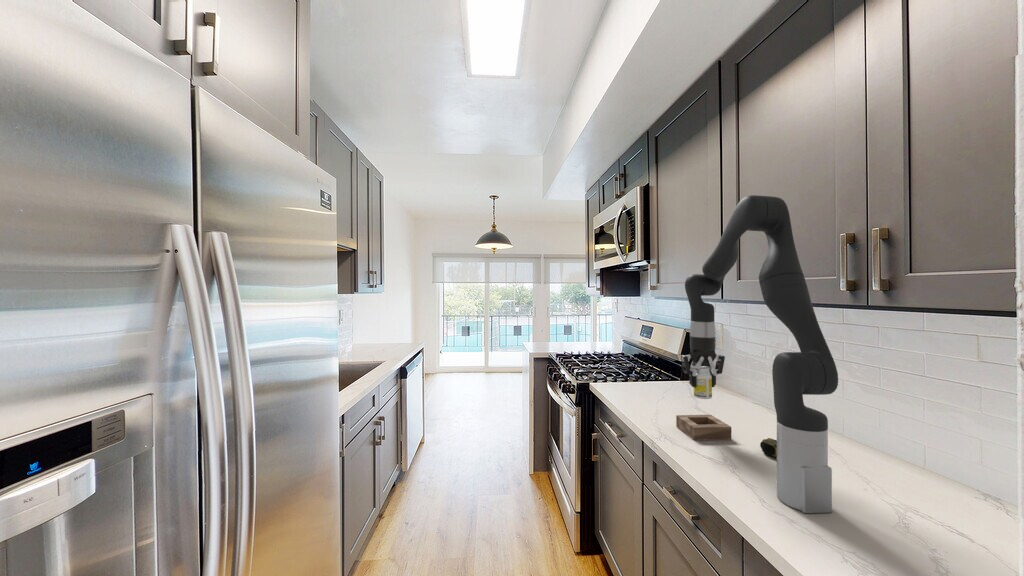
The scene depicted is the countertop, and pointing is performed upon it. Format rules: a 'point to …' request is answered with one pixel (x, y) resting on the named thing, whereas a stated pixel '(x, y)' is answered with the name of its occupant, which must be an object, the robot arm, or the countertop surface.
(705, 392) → the supplement bottle
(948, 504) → the countertop surface
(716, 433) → the socket block
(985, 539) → the countertop surface
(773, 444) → the tape measure
